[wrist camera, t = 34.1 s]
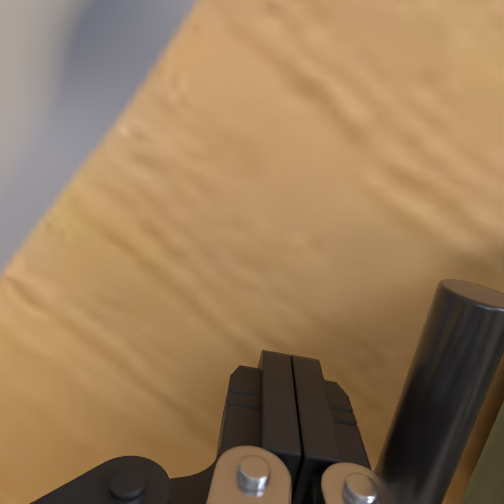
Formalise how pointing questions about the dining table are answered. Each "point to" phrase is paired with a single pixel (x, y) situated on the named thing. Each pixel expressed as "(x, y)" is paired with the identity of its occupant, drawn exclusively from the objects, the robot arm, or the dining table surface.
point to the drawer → (448, 400)
